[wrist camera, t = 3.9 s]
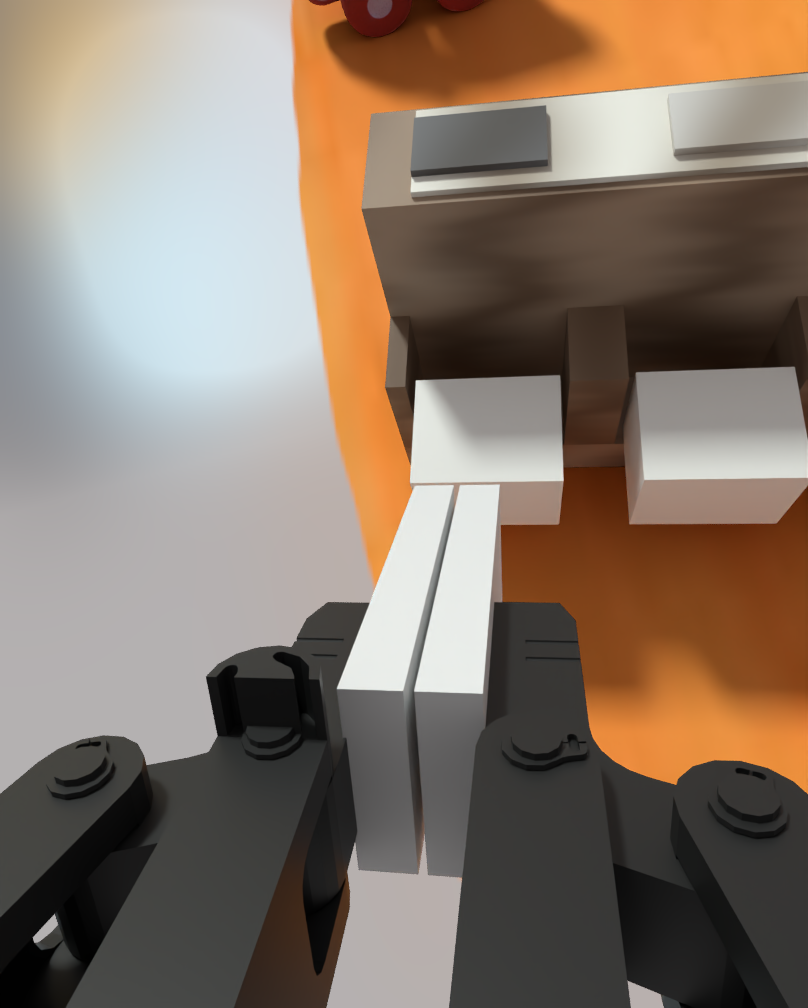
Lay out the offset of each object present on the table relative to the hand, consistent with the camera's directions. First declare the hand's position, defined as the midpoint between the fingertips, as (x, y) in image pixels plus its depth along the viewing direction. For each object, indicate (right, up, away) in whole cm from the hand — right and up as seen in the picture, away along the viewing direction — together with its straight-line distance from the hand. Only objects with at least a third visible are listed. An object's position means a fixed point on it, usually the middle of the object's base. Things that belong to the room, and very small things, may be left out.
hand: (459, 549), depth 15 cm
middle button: (+10, +2, +13) cm, 16 cm away
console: (+10, +5, +17) cm, 20 cm away
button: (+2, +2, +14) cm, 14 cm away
